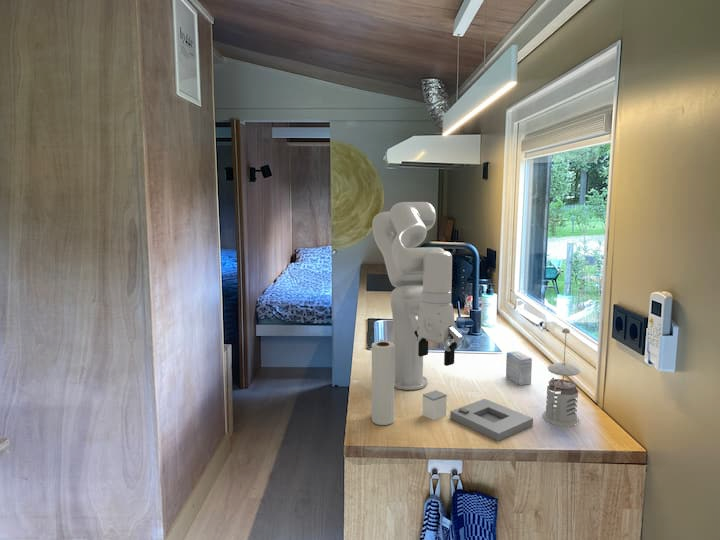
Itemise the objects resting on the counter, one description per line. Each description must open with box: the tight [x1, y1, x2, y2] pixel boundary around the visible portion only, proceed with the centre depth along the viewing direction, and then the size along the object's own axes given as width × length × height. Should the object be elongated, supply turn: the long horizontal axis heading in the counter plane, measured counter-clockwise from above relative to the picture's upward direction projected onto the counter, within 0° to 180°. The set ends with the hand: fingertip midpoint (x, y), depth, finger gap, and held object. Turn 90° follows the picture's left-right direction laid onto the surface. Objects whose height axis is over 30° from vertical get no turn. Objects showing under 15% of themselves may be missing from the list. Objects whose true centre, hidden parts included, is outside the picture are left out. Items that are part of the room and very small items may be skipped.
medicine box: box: [505, 350, 533, 386], centre depth 163 cm, size 8×4×9 cm, turn 16°
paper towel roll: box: [371, 338, 395, 426], centre depth 134 cm, size 7×6×21 cm
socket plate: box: [449, 398, 534, 442], centre depth 134 cm, size 16×14×3 cm
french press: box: [541, 327, 581, 427], centre depth 134 cm, size 10×12×25 cm
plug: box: [422, 389, 448, 421], centre depth 138 cm, size 4×5×6 cm
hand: (435, 359), depth 136 cm, fingers open, 9 cm apart
